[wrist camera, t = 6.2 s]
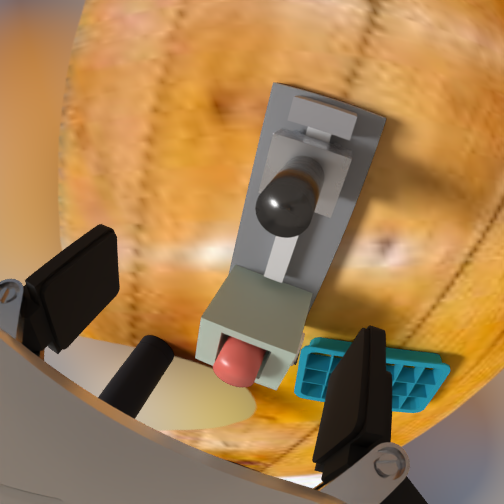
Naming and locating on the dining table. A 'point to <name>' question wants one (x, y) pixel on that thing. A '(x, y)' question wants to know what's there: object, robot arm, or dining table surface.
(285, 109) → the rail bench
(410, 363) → the ice cube tray
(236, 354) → the button
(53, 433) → the robot arm
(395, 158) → the dining table surface
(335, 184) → the carriage
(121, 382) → the wine bottle
